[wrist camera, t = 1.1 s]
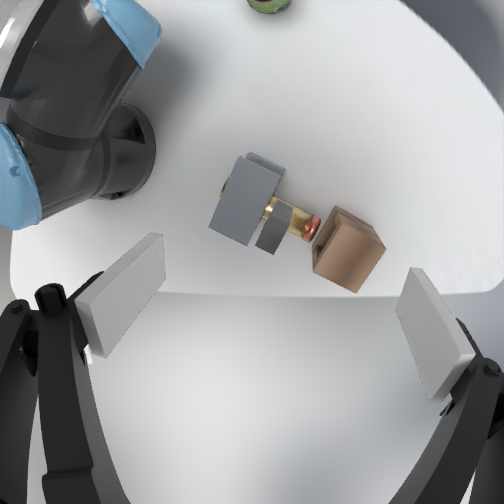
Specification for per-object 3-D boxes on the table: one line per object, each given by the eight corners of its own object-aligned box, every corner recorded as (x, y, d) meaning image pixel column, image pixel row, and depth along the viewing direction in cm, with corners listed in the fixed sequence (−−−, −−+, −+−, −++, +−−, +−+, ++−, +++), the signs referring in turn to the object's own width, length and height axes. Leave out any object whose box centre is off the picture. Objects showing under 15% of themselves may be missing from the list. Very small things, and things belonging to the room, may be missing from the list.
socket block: (312, 245, 40) (312, 271, 32) (335, 205, 37) (342, 223, 30) (348, 264, 40) (355, 293, 33) (372, 226, 37) (386, 249, 30)
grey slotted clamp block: (224, 211, 40) (208, 227, 34) (250, 152, 36) (238, 156, 30) (256, 227, 40) (246, 246, 34) (285, 169, 36) (280, 176, 30)
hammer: (223, 196, 37) (197, 217, 28) (234, 171, 35) (210, 185, 27) (307, 237, 37) (307, 271, 28) (320, 214, 35) (325, 242, 27)
